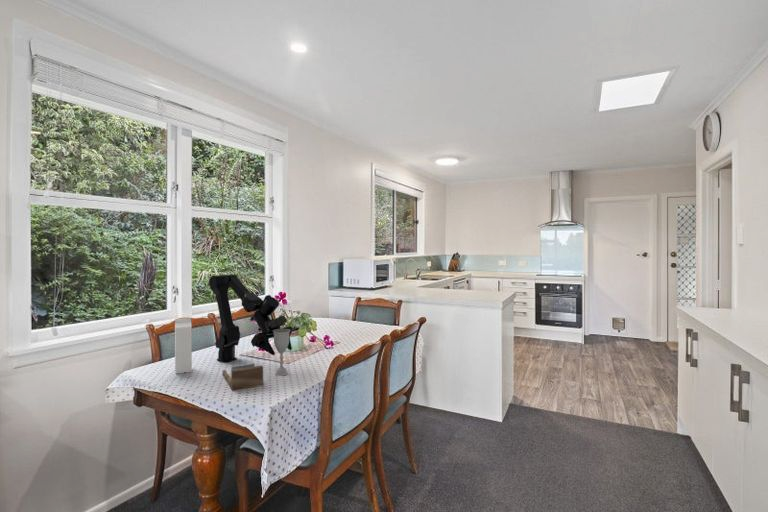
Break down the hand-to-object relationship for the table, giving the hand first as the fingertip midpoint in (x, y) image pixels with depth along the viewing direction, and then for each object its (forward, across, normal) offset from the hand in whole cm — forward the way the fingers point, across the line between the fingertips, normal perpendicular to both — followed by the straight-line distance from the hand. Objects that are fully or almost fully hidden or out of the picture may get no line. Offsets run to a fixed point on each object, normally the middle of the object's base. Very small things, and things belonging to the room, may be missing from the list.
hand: (282, 352), depth 163 cm
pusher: (+2, -15, +11) cm, 18 cm away
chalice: (+6, 0, +7) cm, 9 cm away
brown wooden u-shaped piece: (0, -13, +13) cm, 18 cm away
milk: (-20, -20, +33) cm, 43 cm away
